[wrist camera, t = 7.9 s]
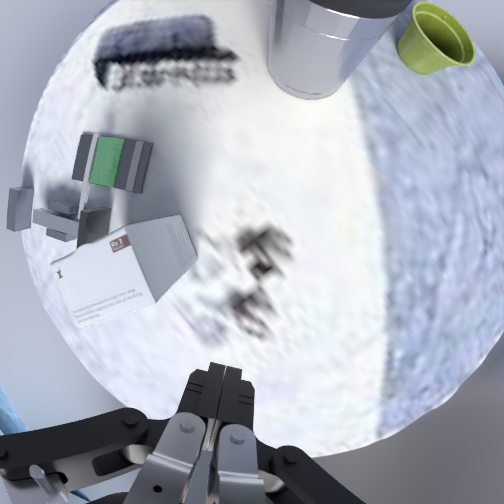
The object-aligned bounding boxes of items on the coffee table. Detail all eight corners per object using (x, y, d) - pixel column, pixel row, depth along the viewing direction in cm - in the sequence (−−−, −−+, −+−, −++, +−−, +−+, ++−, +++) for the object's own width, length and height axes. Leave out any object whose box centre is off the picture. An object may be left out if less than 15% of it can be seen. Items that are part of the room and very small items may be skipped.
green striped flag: (35, 132, 28) (20, 129, 25) (153, 143, 29) (140, 138, 25) (21, 224, 31) (6, 228, 28) (130, 261, 32) (116, 268, 28)
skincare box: (142, 279, 32) (75, 334, 18) (124, 234, 31) (44, 265, 17) (202, 257, 32) (158, 310, 17) (183, 208, 30) (121, 224, 16)
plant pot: (372, 35, 25) (397, 3, 16) (415, 25, 23) (442, -1, 15) (412, 92, 26) (449, 71, 18) (451, 77, 25) (486, 59, 16)
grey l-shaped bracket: (58, 132, 28) (33, 127, 23) (125, 139, 28) (103, 131, 23) (42, 234, 31) (18, 241, 26) (105, 255, 31) (82, 266, 26)
